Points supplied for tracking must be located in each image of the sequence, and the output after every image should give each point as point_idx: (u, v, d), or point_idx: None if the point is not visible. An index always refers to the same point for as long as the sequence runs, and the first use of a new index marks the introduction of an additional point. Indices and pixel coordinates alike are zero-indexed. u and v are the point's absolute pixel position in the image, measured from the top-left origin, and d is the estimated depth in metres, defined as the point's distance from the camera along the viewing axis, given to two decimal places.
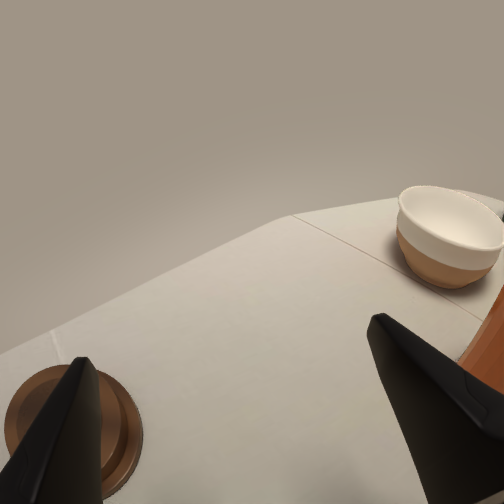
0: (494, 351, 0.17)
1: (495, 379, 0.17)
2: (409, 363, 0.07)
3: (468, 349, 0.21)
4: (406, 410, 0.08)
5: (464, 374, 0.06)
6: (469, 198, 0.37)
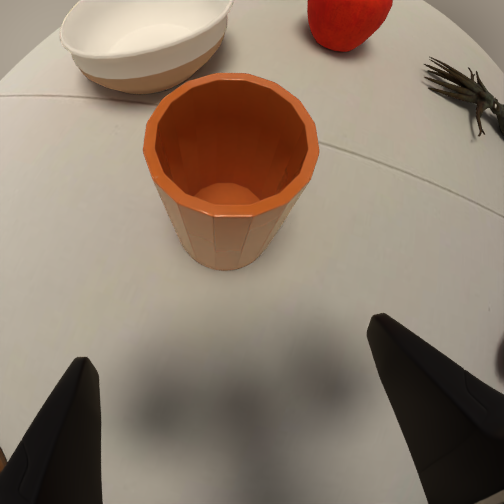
0: (179, 227, 0.16)
1: (207, 251, 0.18)
2: (409, 363, 0.07)
3: None
4: (406, 410, 0.08)
5: (464, 374, 0.06)
6: None
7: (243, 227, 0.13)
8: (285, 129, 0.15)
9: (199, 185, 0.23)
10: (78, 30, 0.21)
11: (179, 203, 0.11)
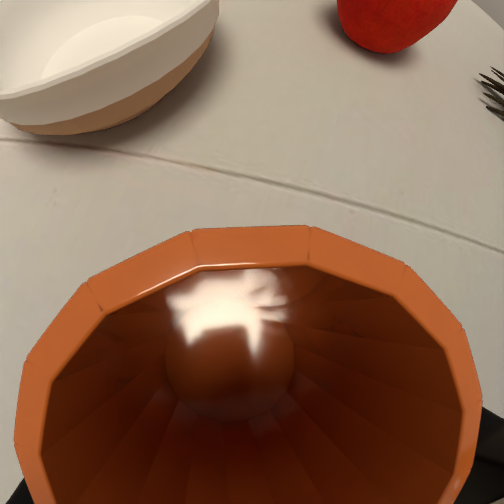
0: None
1: None
2: None
3: None
4: None
5: None
6: None
7: None
8: (388, 350, 0.05)
9: (185, 313, 0.14)
10: None
11: None
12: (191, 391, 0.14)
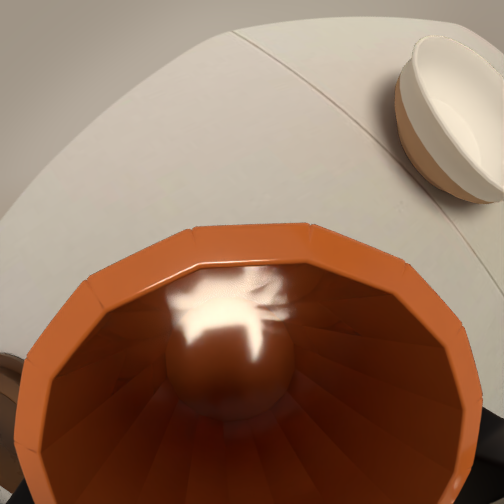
0: None
1: None
2: None
3: None
4: None
5: None
6: (501, 78, 0.20)
7: None
8: (389, 349, 0.05)
9: (185, 312, 0.14)
10: None
11: None
12: (191, 390, 0.14)
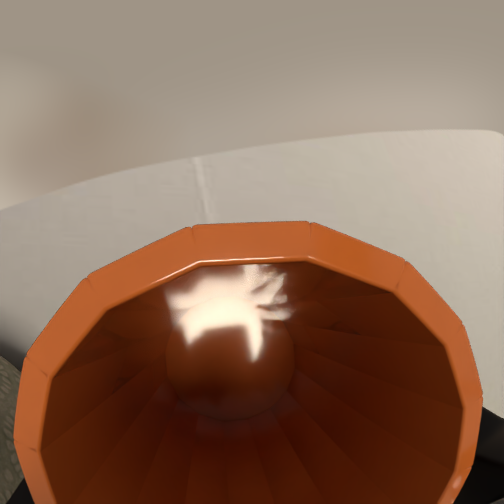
0: None
1: None
2: None
3: None
4: None
5: None
6: None
7: None
8: (389, 348, 0.05)
9: (185, 312, 0.14)
10: None
11: None
12: (191, 390, 0.14)
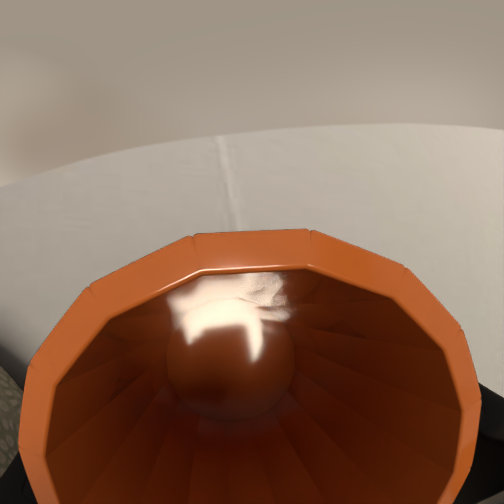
0: None
1: None
2: None
3: None
4: None
5: None
6: None
7: None
8: (389, 351, 0.06)
9: (185, 314, 0.14)
10: None
11: None
12: (192, 391, 0.14)
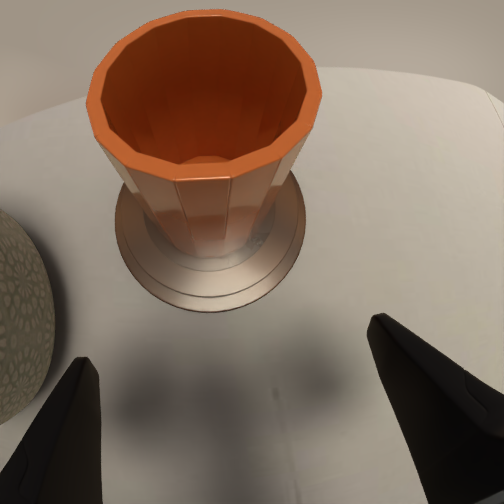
0: (144, 205, 0.12)
1: (182, 235, 0.14)
2: (409, 363, 0.07)
3: None
4: (406, 410, 0.08)
5: (464, 374, 0.06)
6: None
7: (220, 197, 0.09)
8: (276, 75, 0.11)
9: (177, 159, 0.19)
10: None
11: (127, 165, 0.08)
12: None
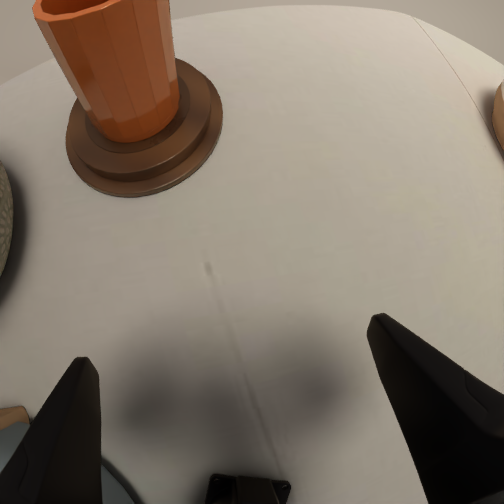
0: (68, 74, 0.13)
1: (98, 97, 0.15)
2: (409, 363, 0.07)
3: None
4: (406, 410, 0.08)
5: (464, 374, 0.06)
6: None
7: (101, 30, 0.10)
8: None
9: None
10: None
11: (49, 21, 0.09)
12: None
